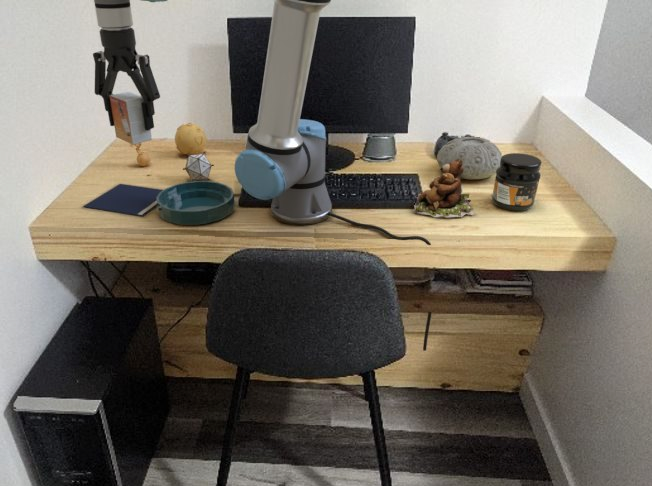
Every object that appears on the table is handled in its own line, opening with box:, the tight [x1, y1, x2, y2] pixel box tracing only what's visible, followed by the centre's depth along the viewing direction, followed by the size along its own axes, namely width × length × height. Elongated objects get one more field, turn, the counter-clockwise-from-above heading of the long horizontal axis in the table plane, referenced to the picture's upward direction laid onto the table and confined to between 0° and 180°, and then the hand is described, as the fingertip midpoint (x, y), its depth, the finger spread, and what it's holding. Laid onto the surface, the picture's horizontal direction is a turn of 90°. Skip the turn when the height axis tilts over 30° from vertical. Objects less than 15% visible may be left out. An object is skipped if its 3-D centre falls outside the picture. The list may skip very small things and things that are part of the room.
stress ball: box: [174, 122, 207, 156], centre depth 174 cm, size 10×10×10 cm
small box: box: [109, 91, 153, 146], centre depth 134 cm, size 8×6×10 cm
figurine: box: [129, 143, 151, 167], centre depth 166 cm, size 8×6×12 cm
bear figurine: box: [413, 159, 475, 219], centre depth 137 cm, size 14×15×12 cm
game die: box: [182, 150, 215, 182], centre depth 156 cm, size 9×8×10 cm
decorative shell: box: [436, 135, 503, 180], centre depth 158 cm, size 18×18×10 cm
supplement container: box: [491, 152, 542, 212], centre depth 139 cm, size 10×10×12 cm
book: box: [82, 183, 164, 218], centre depth 147 cm, size 18×16×1 cm
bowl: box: [156, 180, 236, 226], centre depth 140 cm, size 19×19×4 cm
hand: (132, 126), depth 135 cm, fingers closed on small box, 9 cm apart
